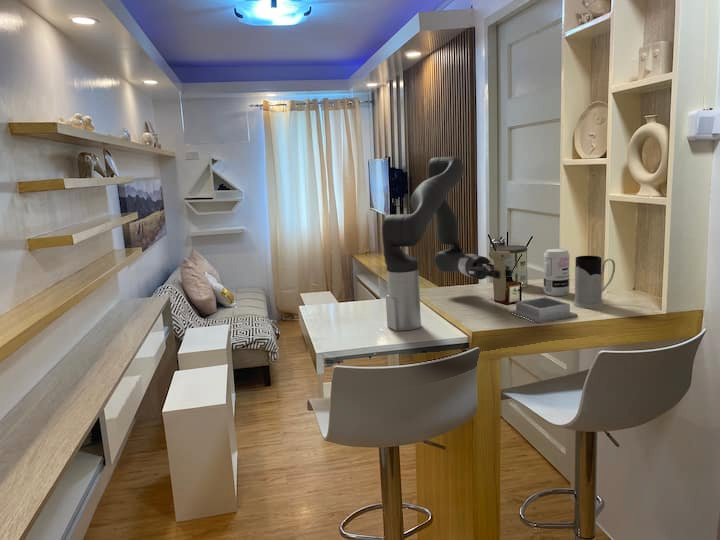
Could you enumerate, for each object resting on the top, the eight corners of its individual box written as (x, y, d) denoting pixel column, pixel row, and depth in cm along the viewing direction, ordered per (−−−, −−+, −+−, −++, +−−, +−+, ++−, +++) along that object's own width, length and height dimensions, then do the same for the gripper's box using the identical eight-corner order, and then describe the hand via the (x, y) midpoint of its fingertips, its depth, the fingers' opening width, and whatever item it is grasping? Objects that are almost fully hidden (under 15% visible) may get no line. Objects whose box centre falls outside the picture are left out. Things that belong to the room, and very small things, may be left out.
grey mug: (567, 303, 191) (567, 257, 188) (604, 297, 195) (604, 252, 192) (585, 309, 183) (585, 261, 180) (623, 303, 187) (624, 256, 184)
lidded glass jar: (504, 281, 227) (503, 244, 225) (531, 283, 222) (530, 245, 219) (494, 287, 219) (493, 249, 216) (522, 289, 213) (522, 250, 211)
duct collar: (538, 323, 172) (538, 311, 171) (509, 313, 185) (509, 301, 184) (577, 316, 177) (577, 304, 176) (546, 306, 190) (546, 295, 189)
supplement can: (548, 290, 210) (548, 247, 207) (572, 292, 205) (572, 248, 202) (540, 295, 203) (540, 251, 201) (565, 297, 199) (565, 252, 196)
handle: (512, 300, 184) (512, 252, 181) (492, 302, 183) (492, 254, 181) (506, 297, 189) (506, 250, 186) (487, 299, 188) (486, 251, 185)
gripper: (455, 257, 194) (485, 264, 179) (492, 252, 199) (524, 259, 184) (455, 279, 196) (485, 289, 180) (492, 274, 201) (524, 283, 185)
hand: (505, 274), depth 182 cm, fingers closed on handle, 3 cm apart
